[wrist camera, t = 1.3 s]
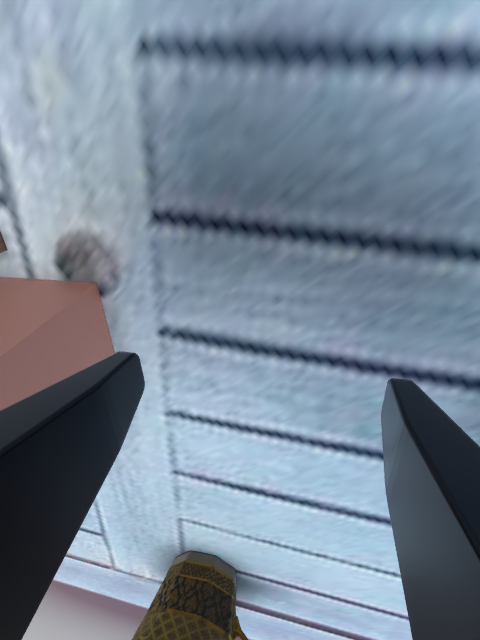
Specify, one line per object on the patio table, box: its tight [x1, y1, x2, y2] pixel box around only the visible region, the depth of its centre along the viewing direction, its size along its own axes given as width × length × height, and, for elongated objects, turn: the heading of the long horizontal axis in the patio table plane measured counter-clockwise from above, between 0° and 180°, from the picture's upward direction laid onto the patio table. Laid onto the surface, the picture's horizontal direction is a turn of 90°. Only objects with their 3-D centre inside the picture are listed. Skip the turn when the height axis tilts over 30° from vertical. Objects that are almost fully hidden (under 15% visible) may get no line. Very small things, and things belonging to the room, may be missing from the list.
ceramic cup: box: [132, 551, 248, 640], centre depth 33 cm, size 13×10×10 cm
